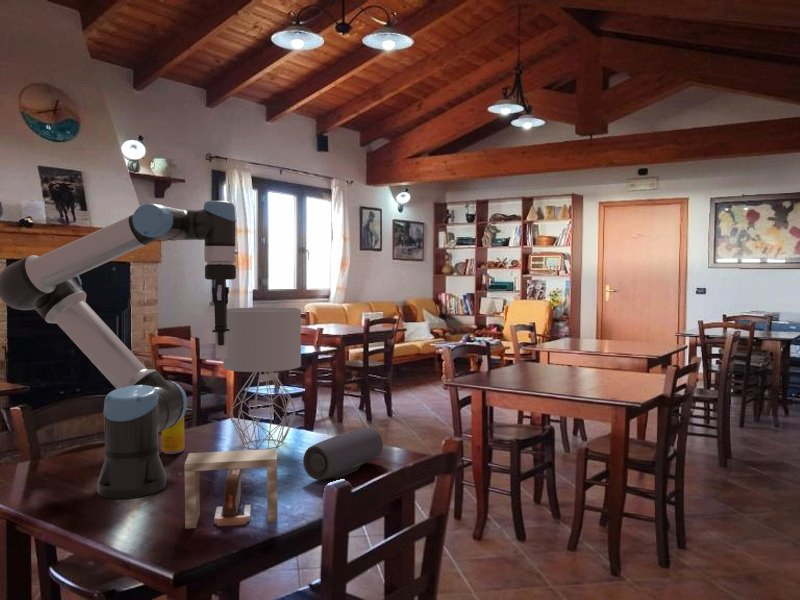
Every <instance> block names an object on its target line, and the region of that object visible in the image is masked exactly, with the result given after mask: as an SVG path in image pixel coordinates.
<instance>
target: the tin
mask: <svg viewBox="0 0 800 600" xmlns="http://www.w3.org/2000/svg"><path fill="white" fill-rule="evenodd" d="M243 469H244V468H239V469H228V472H227V475H226V478H225V485H224V492H223V493H224V494H223V503H222V505H223V506H222V507H223V513H222V516H238V515H237V514H238V511H239V508H240V503H241V499H242V498H241V497H242V477H243Z"/></svg>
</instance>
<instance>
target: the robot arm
mask: <svg viewBox="0 0 800 600" xmlns="http://www.w3.org/2000/svg"><path fill="white" fill-rule="evenodd" d="M236 222H237V220H236V207H235V204H234V203H232V202H231V201H225V200H207V201H205V202H204V204H203V209H179V208H175V207H169V206H167V205H166V206H165V205H163V204H160V203H143V204H141V205H140V206H138V207H137V208H136V210H135V211H134V212H133V214H131V215H129V216H127V217H124V218H122V219H120V220H118V221H116V222H113V223H111V224H109V225H107V226H104V227H102V228H100V229H98V230H96V231H94V232H93V231H92V232H91V233H89V234H86V235H85V236H84V235H83V236H82V237H79V238H78V239H76V240H73V241H71V242H69V243H67V244H64V245H62V246H60V247H58V248H55V249H53V250H51V251H49V252H47V253H44V254H42V255H40V256H38V255H36V254H33V255H28V256H27V257H24V258H22V259H20V260H18V261H15V262H13V263H10V264H9V265H8V266H6V267H5V268H4V269H3V270H2V271H1V272H0V300H1V301H2V302H3V303H4V304H5V305H7V306H8V307H10V308H12V309H15V310H20V311H36V312H37V313H38V314H39V315H40V316H41V318H43V320H44V321H45V322H46V323H47V324H57V326H58V327H59V328H60V329H61V330H62V331H63V332H64V333H65V334H66V335H67V336H68V338H69V339H70V340H71V341H72V342H73V343H74V344H75V345H76V346H77V347H78V349H79V350H81V352H82V353H83V354H84V355H85V356H86V357H87V358H88V359H89V360H90V362H91V363H92V364H93V365H94V366H95V367H96V368H97V369H98V371H100V372H101V374H102V375H103V376H104V377H105V378H106V379H107V380H108V381H109V382H110V384H112V386H113V387H114V388H115V389H114V390H111V391H110V392H109V393H107V395H106V396H105V398H104V405H103V419H104V420H103V423H104V424H103V425H104V427H103V428H104V429H103V431H104V462H103V464H102V467H101V469H100V474H99V476H98V480H97V483H96V484H97V485H96V486H97V487H96V488H97V494H98V495H99V496H100V497H103V498H107V499H115V500H116V499H117V500H119V499H133V498H140V497H145V496H149V495H153V494H155V493H156V494H157V493H158V492H161V491H162V490H164V489H165V488H166V487H167V486H168V485H167V484H168V483H167V482H168V481H167V480H168V479H167V474H166V470H165V468H164V466H163V465H164V464H163V462H162V459H161V457H160V454H159V433H160V434H161V433H162V431H163V430H165V429H168V428H170V427H172V426H174V425H175V424H176V423H177V422H178V421H180V420H181V418H182V417H183V416H184V417H185V414H186V413H187V408H188V398H187V394H186V391H184V389H183V388H182V386H181V385H180V384H178V383H177V382H176V381H175V382H174V381H172V380H166V379H165V378H164V377H163V375H161V373H159V372H158V370H156V369H148V368H147V367H146V366H145V365H144V364H143V363H142V362H141V361H140V360H139V359H138V357H136V355H135V354H134V353H133V352H132V351H131V350H130V349H129V348H128V346H126V344H125V343H123V341H122V340H121V339H120V338H119V337H118V335H117V334H115V332H114V331H113V330H112V329H111V328H110V327H109V325H107V324H106V323H105V322H104V321H103V319H101V317H100V316H99V315H98V314H97V313H96V312H95V310H93V309H92V308H91V306H90V305H89V304H88V303H87V302H86V301H87V292H85V291H84V290H83V287H82V285H83V283H82V279H81V278H80V275H83V274H84V273H87V272H89V271H91V270H93V269H95V268H98V267H100V266H102V265H104V264H106V263H109V262H111V261H113V260H115V259H118V258H120V257H122V256H124V255H126V254H129V253H131V252H132V251H135V250H137V249H140V248H142V247H144V246H147V245H150V244H151V243H154V242H156V241H158V240H163V241H174V242H175V241H197V240H198V241H203V240H204V248H203V249H204V250H203V251H204V252H203V253H204V257H203V259H204V262H205V263H206V264H205V266H204V278H205V279H206V280H214V286H212V287H211V294H212V297H213V298H212V299H213V300H212V302H213V305H214V329H212V330H211V331H212V333H214V334H215V335H214V336H215V337H214V338H215V340H214V341H215V347H214V348H215V349H214V350H215V359H223V358H227V332H226V331H229V329H227V309H228V304H229V293H230V287H229V286H227V280H230V281H231V280H235V279H236V278H237V266H236V264H234V263H236V261H237V258H236V255H238V254H239V251H238V250H236V246H237V245H236V244H237V243H236V233H237V232H236V225H237V223H236Z"/></svg>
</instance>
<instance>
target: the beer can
mask: <svg viewBox="0 0 800 600" xmlns="http://www.w3.org/2000/svg"><path fill="white" fill-rule="evenodd" d="M184 449H185V415H184V416H183V417H182V418H181V420H180V421H178V422H177V423H176V424H175V425H174V426H172V427H170V428H168V429H165V430H163V431H161V451H163V453H164V454H166V455H174V454H175V455H176V454H180V453H182V452H183V451H184Z"/></svg>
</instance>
